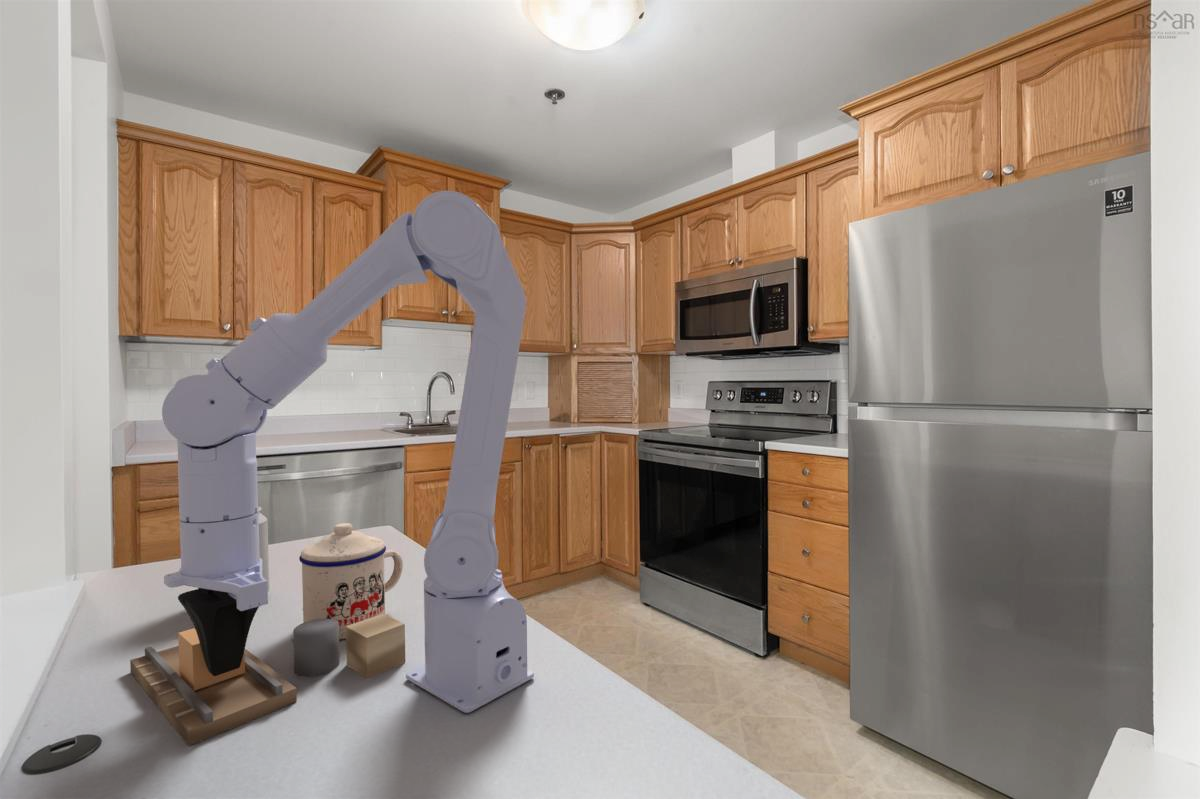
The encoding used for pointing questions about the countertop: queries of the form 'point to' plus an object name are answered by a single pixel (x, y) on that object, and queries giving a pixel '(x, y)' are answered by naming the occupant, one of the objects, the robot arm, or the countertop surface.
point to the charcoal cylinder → (316, 647)
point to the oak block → (375, 645)
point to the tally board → (210, 694)
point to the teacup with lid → (346, 577)
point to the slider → (199, 663)
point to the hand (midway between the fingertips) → (224, 669)
